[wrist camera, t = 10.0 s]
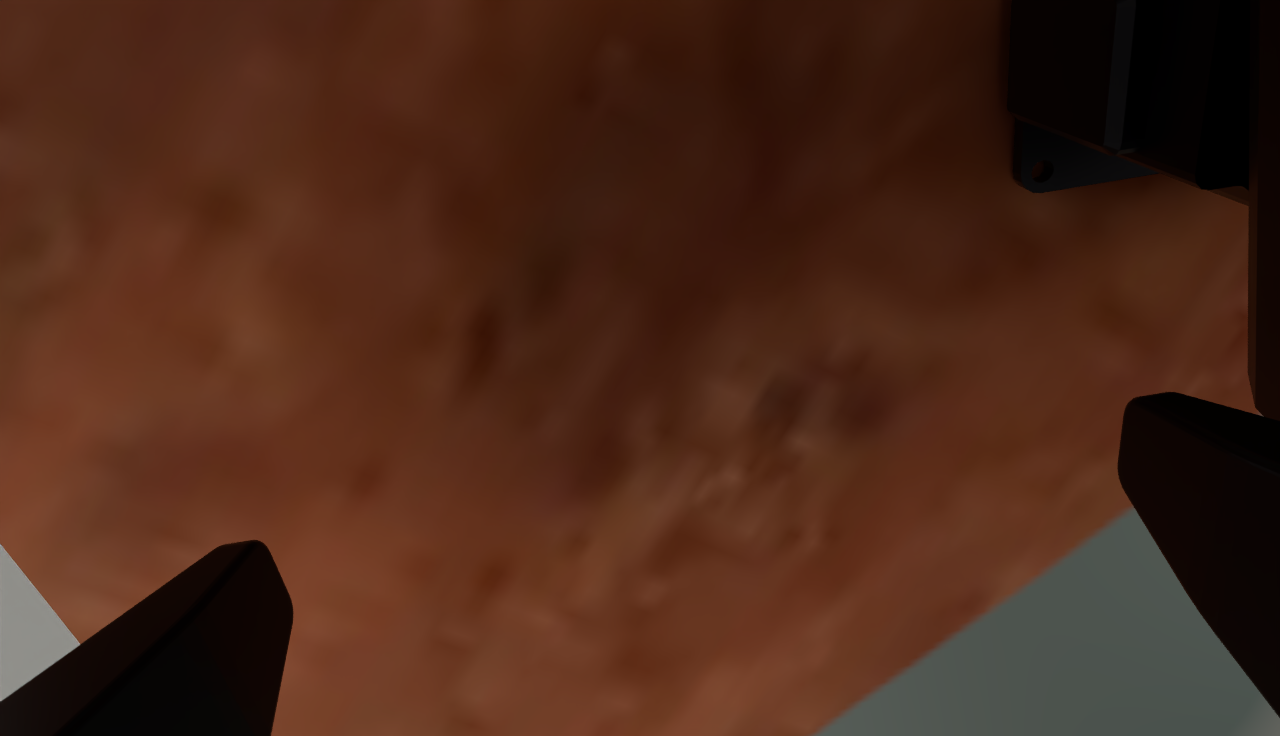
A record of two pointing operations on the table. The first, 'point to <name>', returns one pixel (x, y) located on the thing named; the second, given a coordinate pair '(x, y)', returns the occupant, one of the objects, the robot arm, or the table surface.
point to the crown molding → (26, 629)
